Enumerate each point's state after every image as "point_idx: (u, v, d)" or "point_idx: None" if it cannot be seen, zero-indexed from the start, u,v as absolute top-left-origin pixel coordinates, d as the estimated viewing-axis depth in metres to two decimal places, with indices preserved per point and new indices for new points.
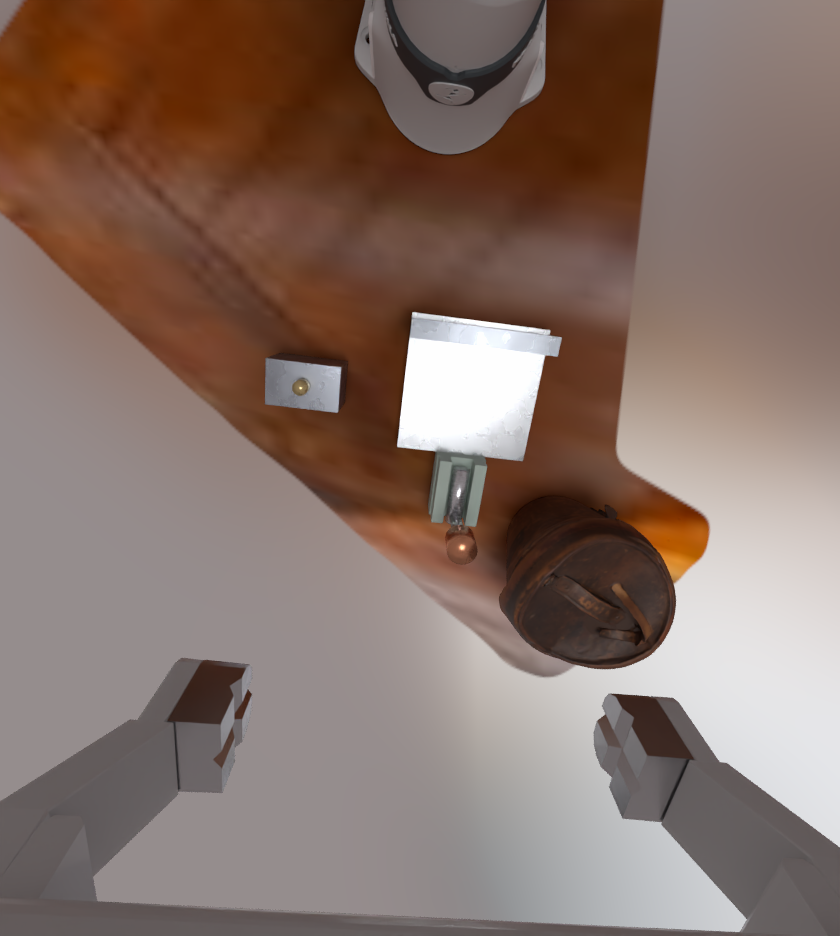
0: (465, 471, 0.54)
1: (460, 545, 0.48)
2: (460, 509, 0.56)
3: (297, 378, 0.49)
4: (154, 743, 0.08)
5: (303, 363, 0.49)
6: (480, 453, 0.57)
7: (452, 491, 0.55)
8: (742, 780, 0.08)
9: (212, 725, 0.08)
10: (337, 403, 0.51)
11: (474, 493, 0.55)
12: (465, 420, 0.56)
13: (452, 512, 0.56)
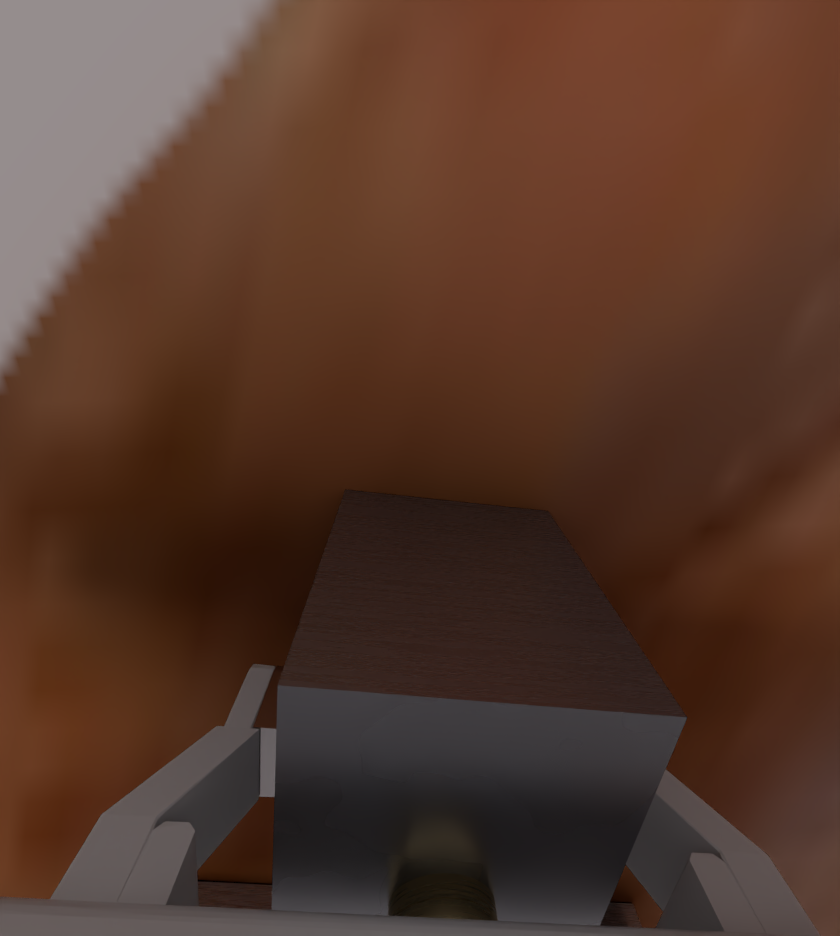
0: None
1: None
2: None
3: (498, 886, 0.07)
4: (243, 749, 0.08)
5: (597, 908, 0.07)
6: None
7: None
8: (664, 774, 0.08)
9: None
10: None
11: None
12: None
13: None
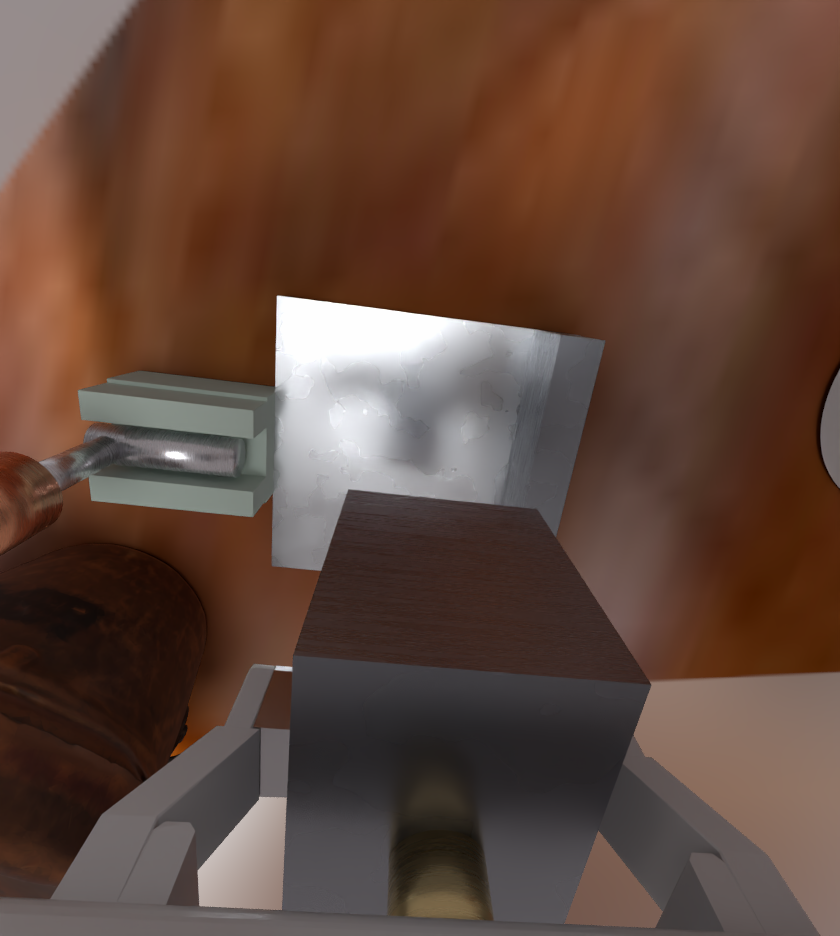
0: (232, 469, 0.23)
1: None
2: (130, 462, 0.22)
3: (487, 842, 0.07)
4: (243, 749, 0.08)
5: (577, 864, 0.08)
6: (279, 485, 0.27)
7: (176, 440, 0.22)
8: (664, 774, 0.08)
9: None
10: None
11: (179, 492, 0.23)
12: (350, 451, 0.26)
13: (118, 444, 0.22)
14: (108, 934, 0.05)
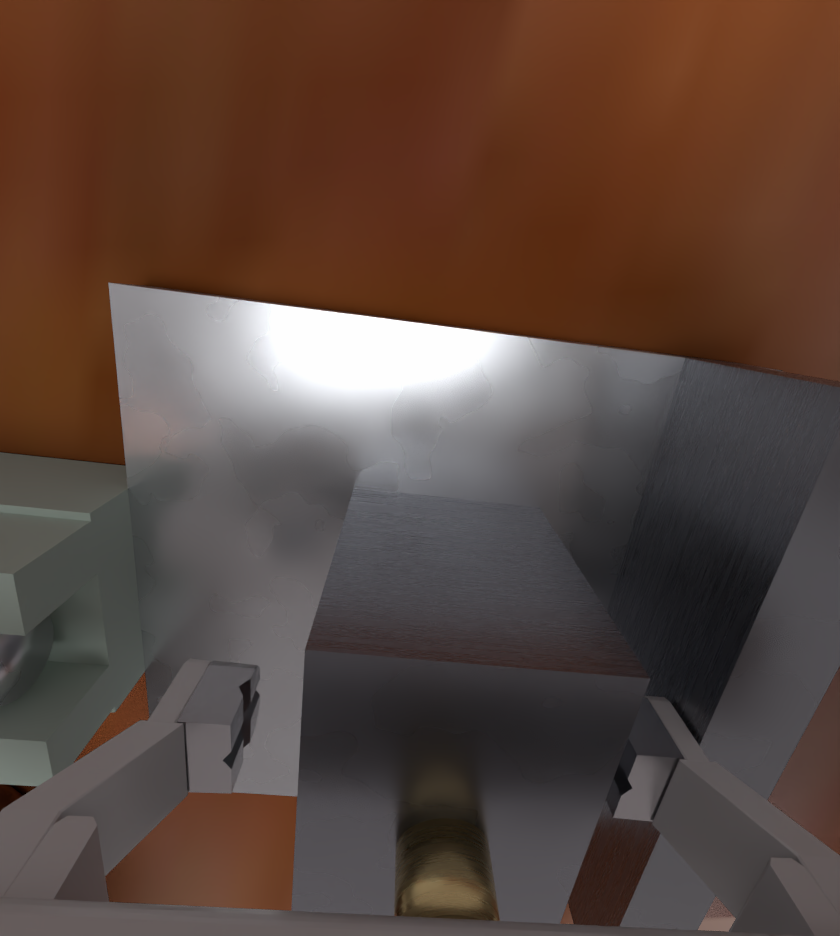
0: None
1: None
2: None
3: (491, 830, 0.08)
4: (164, 744, 0.08)
5: (577, 852, 0.08)
6: (156, 658, 0.14)
7: None
8: (732, 779, 0.08)
9: (222, 726, 0.08)
10: None
11: None
12: (292, 597, 0.13)
13: None
14: (108, 934, 0.05)
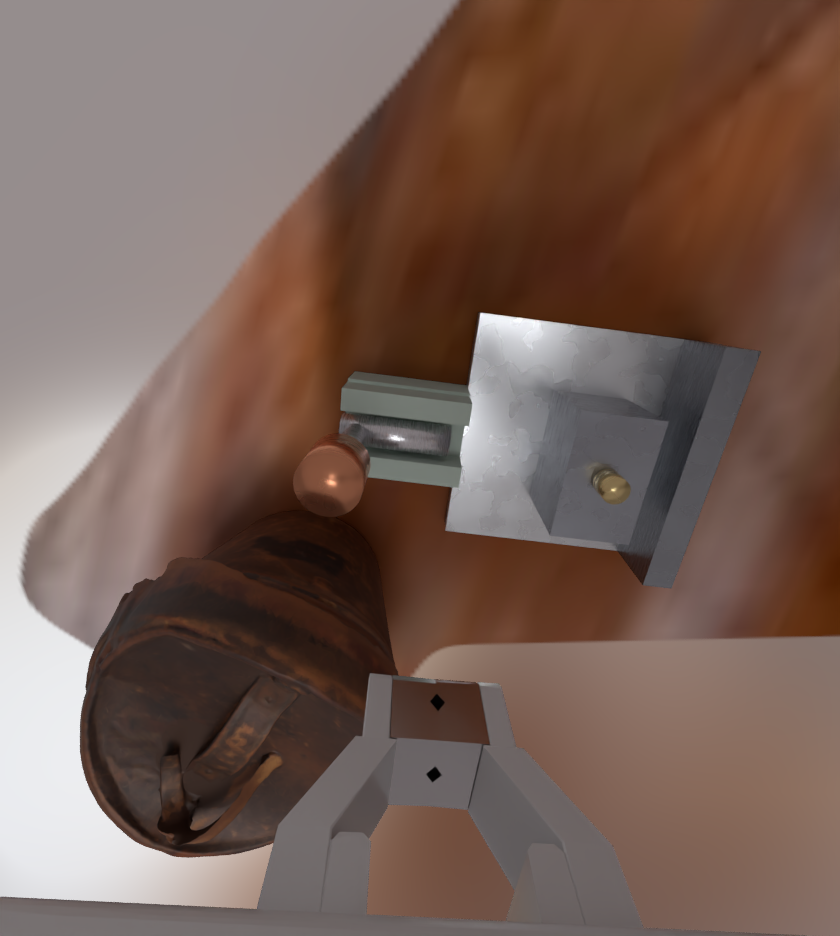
0: None
1: (342, 481, 0.21)
2: (370, 443, 0.29)
3: (621, 473, 0.27)
4: (385, 759, 0.08)
5: (645, 485, 0.27)
6: (461, 464, 0.33)
7: (407, 427, 0.29)
8: (529, 765, 0.08)
9: (431, 741, 0.09)
10: (566, 535, 0.28)
11: (405, 467, 0.29)
12: (521, 437, 0.32)
13: (365, 430, 0.29)
14: (108, 934, 0.05)
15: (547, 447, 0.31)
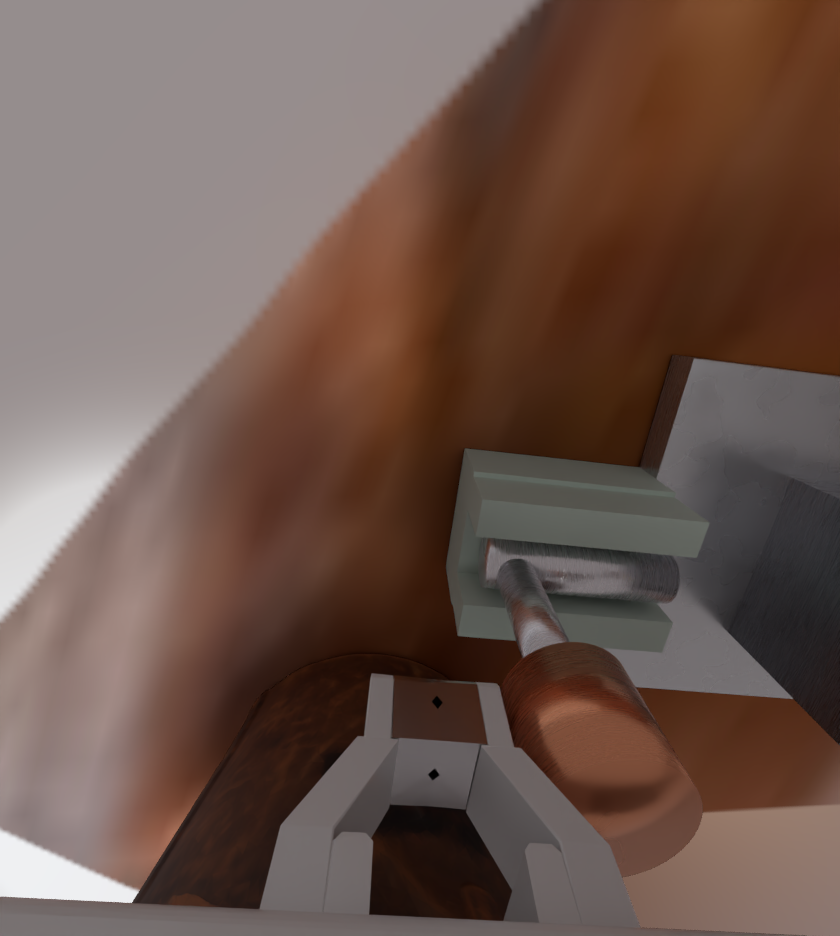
0: (673, 597, 0.17)
1: (655, 814, 0.08)
2: None
3: None
4: (387, 759, 0.08)
5: None
6: None
7: (604, 560, 0.17)
8: (527, 765, 0.08)
9: (433, 741, 0.09)
10: None
11: (576, 624, 0.17)
12: (730, 549, 0.20)
13: (534, 569, 0.16)
14: (108, 934, 0.05)
15: (786, 571, 0.19)
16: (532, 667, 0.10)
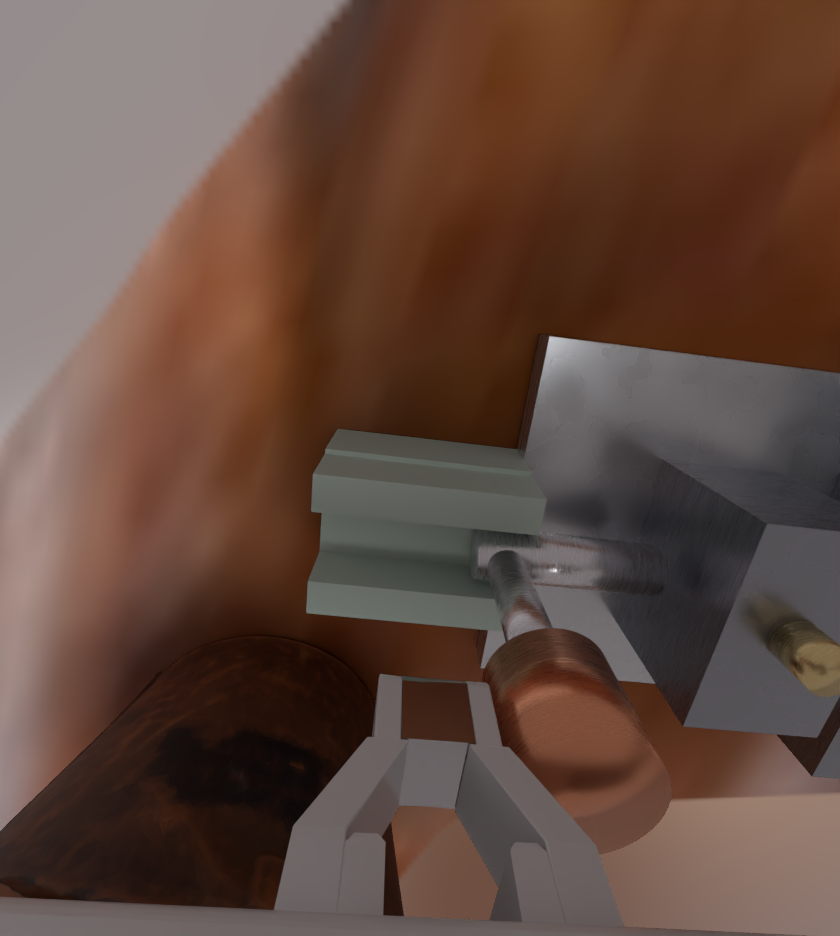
0: (662, 590, 0.17)
1: (625, 792, 0.09)
2: None
3: (823, 628, 0.15)
4: (397, 760, 0.08)
5: None
6: None
7: (593, 553, 0.17)
8: (515, 764, 0.08)
9: (442, 742, 0.09)
10: (711, 726, 0.16)
11: (425, 602, 0.17)
12: (606, 532, 0.20)
13: (524, 561, 0.16)
14: (108, 934, 0.05)
15: None
16: (512, 652, 0.11)
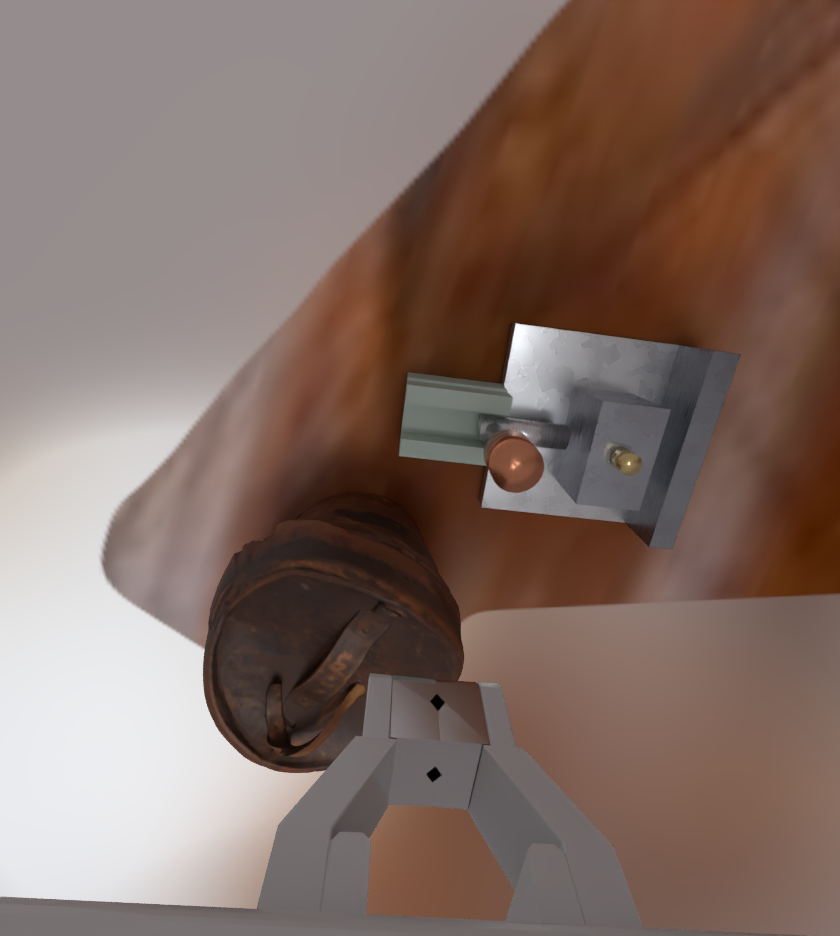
0: (568, 444, 0.36)
1: (529, 464, 0.27)
2: None
3: (634, 452, 0.34)
4: (385, 759, 0.08)
5: (653, 461, 0.34)
6: None
7: (535, 426, 0.35)
8: (529, 765, 0.08)
9: (431, 741, 0.09)
10: (589, 504, 0.35)
11: (456, 450, 0.36)
12: None
13: (502, 428, 0.35)
14: (108, 934, 0.05)
15: None
16: (494, 436, 0.29)
